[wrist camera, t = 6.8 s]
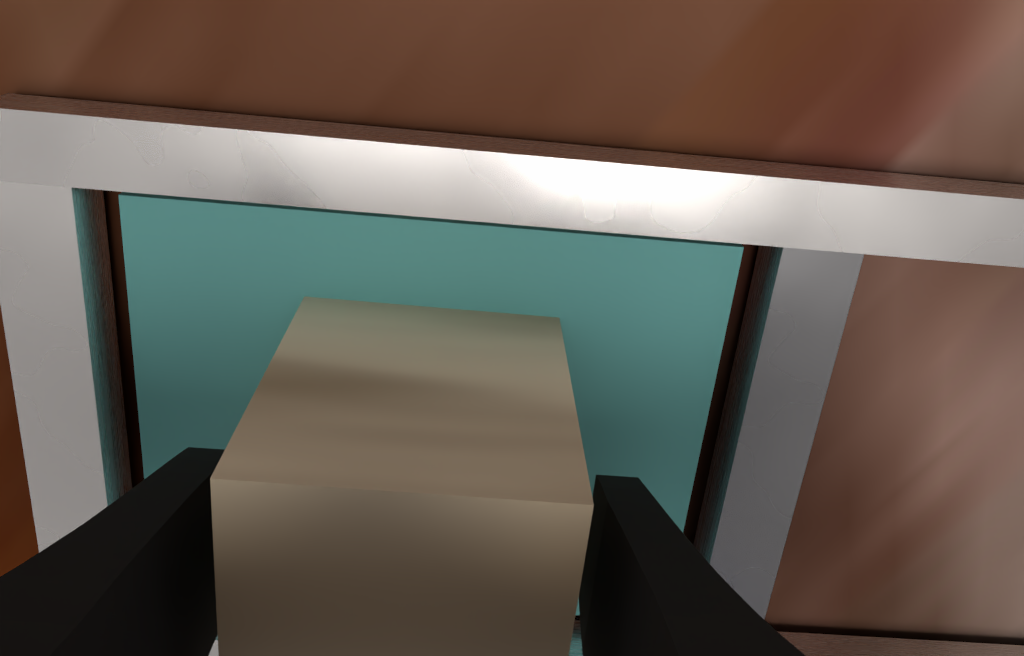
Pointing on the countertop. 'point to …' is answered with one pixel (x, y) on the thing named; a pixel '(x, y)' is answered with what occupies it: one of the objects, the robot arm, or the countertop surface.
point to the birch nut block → (404, 489)
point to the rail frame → (453, 293)
